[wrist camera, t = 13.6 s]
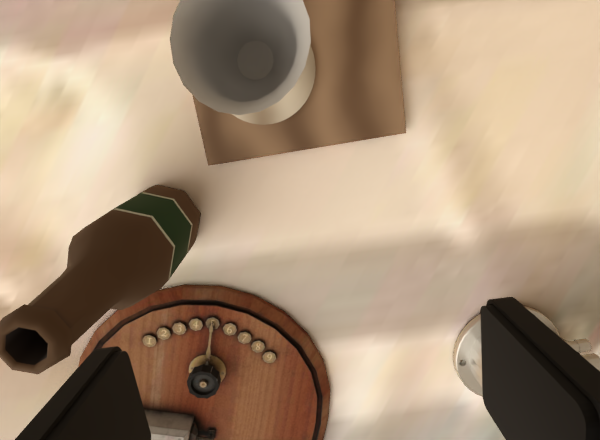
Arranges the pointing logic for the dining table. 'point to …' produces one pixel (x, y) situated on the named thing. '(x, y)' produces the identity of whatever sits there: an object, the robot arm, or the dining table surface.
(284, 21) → the chalice
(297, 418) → the wooden control board
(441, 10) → the dining table surface
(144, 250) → the beer bottle
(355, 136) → the walnut board
